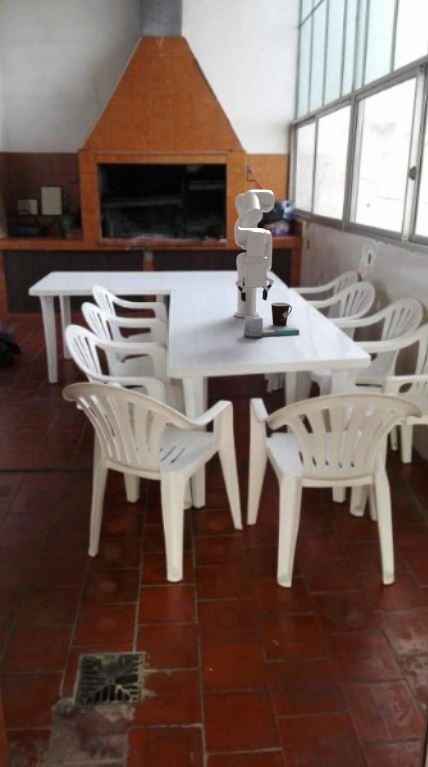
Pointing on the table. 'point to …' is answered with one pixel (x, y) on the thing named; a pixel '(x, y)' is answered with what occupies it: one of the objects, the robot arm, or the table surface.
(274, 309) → the coffee mug
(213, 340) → the table surface
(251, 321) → the brushed metal cube
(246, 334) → the ratchet
